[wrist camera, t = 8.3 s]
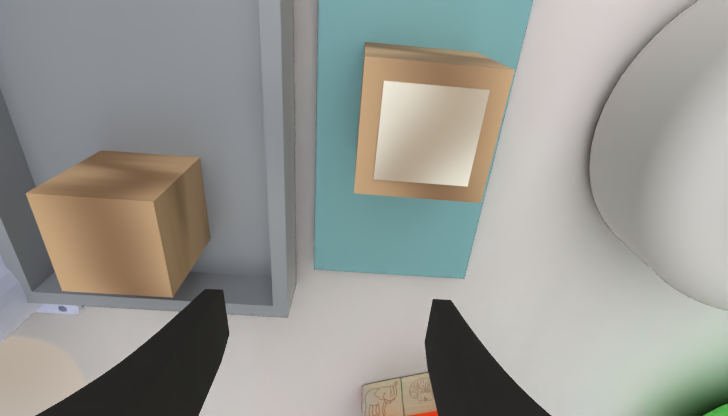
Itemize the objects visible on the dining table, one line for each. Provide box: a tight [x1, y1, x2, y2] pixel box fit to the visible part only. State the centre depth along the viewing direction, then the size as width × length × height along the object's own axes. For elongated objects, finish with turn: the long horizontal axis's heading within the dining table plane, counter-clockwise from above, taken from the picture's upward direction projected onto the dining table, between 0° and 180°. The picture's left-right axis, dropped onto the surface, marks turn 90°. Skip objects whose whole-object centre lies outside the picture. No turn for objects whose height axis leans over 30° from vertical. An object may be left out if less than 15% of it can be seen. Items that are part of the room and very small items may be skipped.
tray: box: [0, 0, 296, 318], centre depth 17 cm, size 15×24×3 cm, turn 176°
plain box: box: [26, 150, 211, 298], centre depth 19 cm, size 5×5×5 cm
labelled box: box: [354, 42, 515, 203], centre depth 16 cm, size 5×5×5 cm
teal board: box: [314, 0, 533, 279], centre depth 19 cm, size 9×20×1 cm, turn 176°
